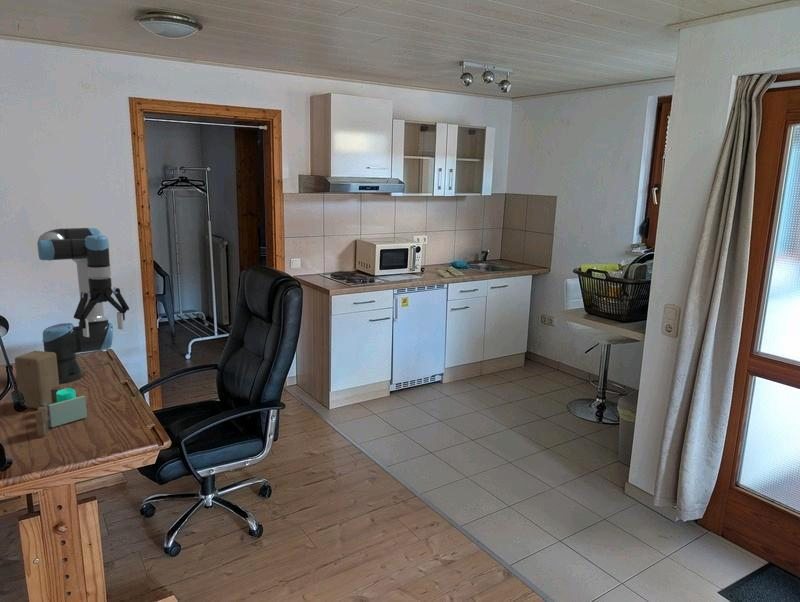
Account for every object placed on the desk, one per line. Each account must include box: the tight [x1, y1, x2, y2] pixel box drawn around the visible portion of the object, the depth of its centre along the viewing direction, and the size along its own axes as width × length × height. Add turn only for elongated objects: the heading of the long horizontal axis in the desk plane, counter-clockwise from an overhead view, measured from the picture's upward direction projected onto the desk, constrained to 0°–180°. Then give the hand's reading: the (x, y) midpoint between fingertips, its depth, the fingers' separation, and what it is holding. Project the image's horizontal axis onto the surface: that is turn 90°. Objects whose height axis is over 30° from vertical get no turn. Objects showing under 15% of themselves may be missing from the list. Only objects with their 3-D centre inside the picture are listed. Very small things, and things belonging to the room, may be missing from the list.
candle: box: [56, 387, 77, 403], centre depth 208 cm, size 6×6×12 cm
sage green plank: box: [47, 395, 88, 428], centre depth 204 cm, size 12×1×8 cm, turn 142°
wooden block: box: [14, 350, 60, 410], centre depth 219 cm, size 10×10×20 cm
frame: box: [34, 385, 62, 438], centre depth 205 cm, size 25×2×10 cm, turn 18°
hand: (104, 332), depth 217 cm, fingers open, 13 cm apart
